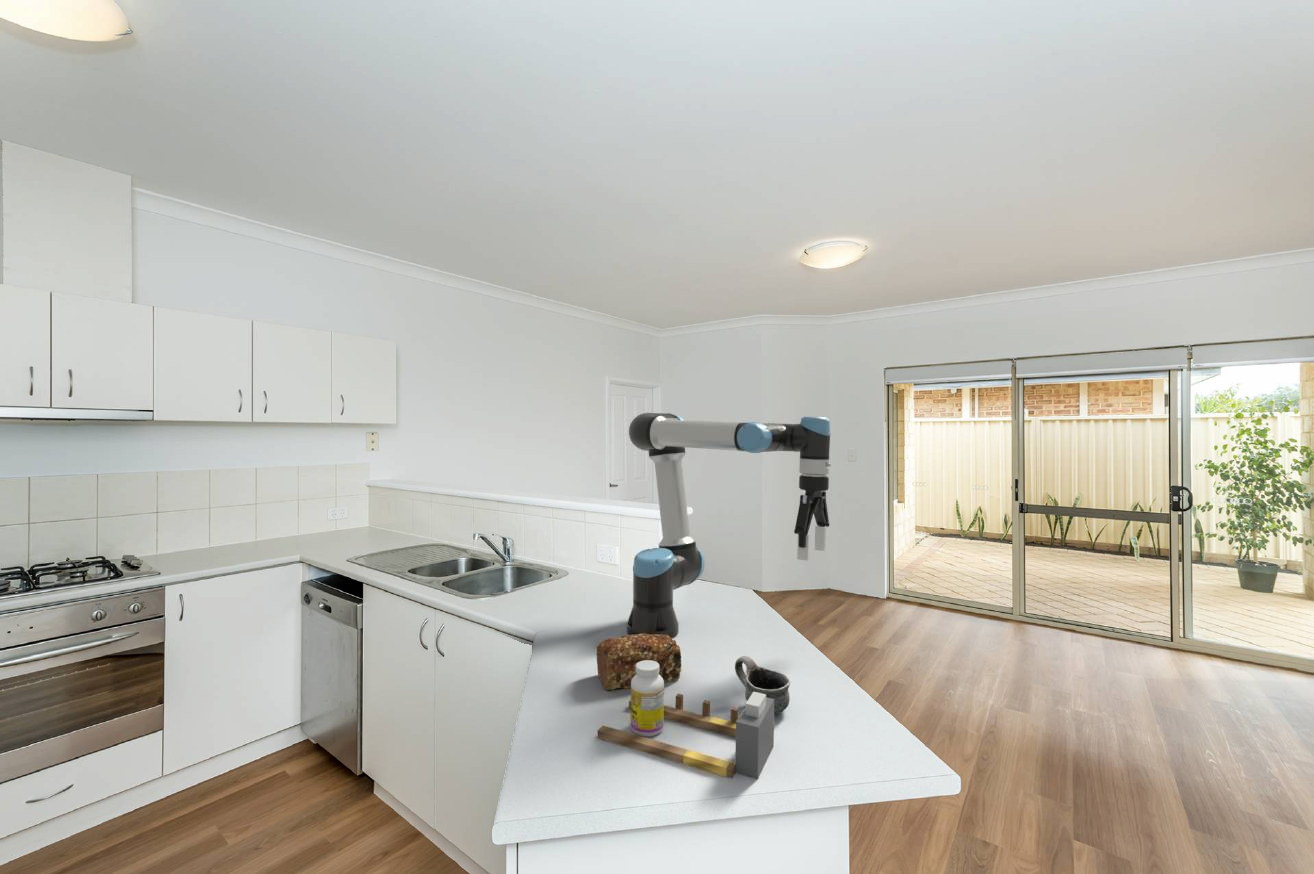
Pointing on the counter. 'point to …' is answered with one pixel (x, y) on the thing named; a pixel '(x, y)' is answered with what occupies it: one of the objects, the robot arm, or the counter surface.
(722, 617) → the counter surface
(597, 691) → the counter surface
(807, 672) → the counter surface
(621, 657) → the bread
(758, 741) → the grey carton
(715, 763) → the wooden rack
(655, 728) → the supplement bottle
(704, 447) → the robot arm
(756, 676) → the mug
